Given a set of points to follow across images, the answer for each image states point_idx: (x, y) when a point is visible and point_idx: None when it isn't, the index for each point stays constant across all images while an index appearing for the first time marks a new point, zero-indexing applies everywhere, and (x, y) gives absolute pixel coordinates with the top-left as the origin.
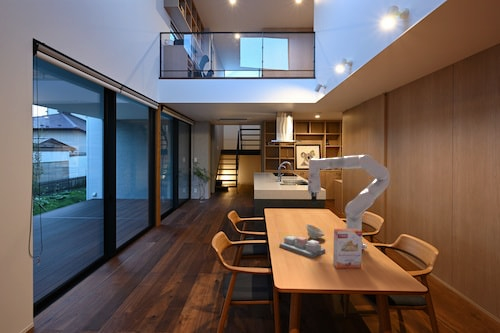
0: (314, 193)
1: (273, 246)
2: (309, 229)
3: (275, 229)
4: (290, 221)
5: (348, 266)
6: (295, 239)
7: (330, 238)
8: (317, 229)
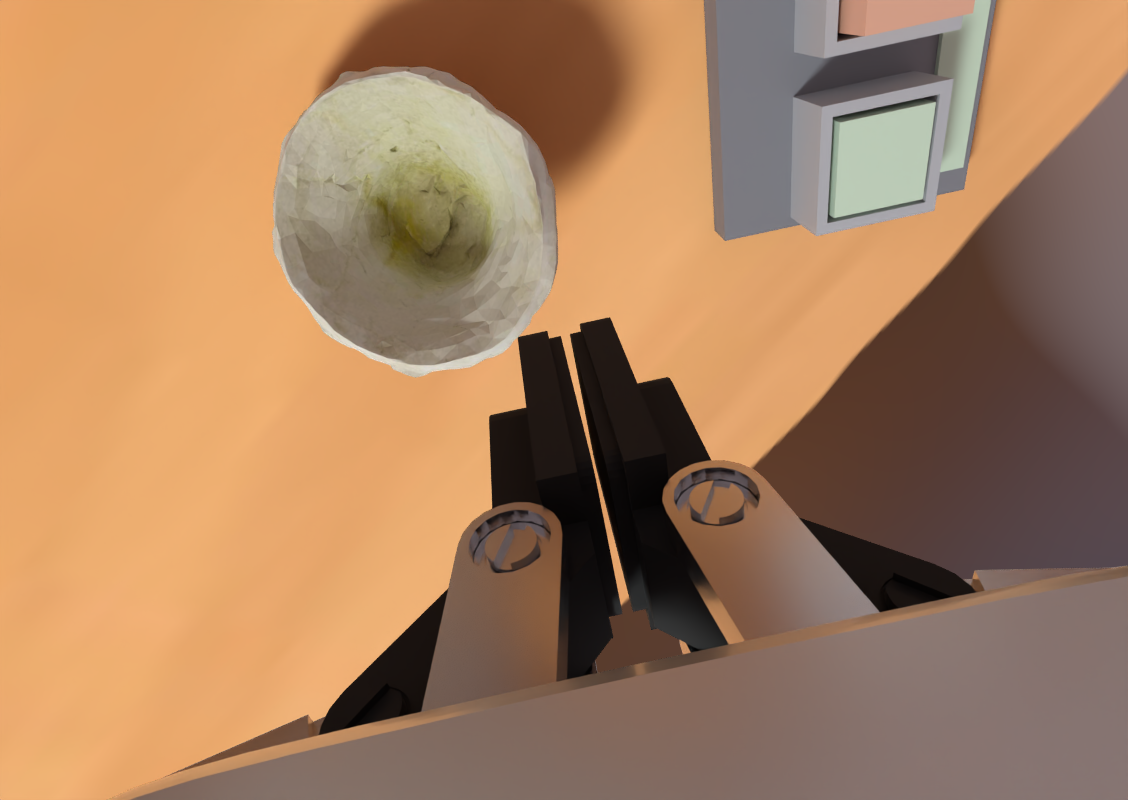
0: (783, 601)
1: (975, 219)
2: (555, 202)
3: None
4: (307, 699)
5: None
6: (877, 92)
7: (207, 86)
8: (317, 274)
